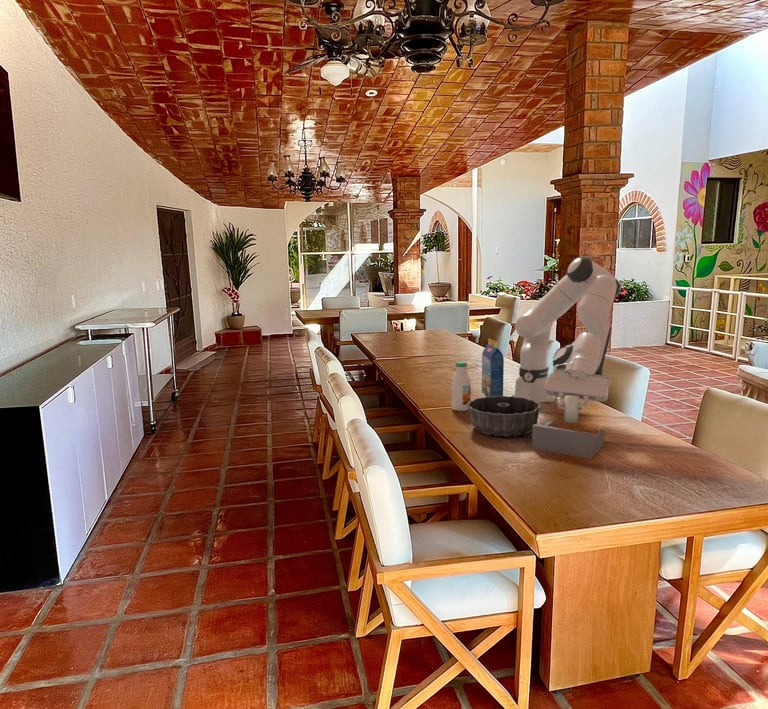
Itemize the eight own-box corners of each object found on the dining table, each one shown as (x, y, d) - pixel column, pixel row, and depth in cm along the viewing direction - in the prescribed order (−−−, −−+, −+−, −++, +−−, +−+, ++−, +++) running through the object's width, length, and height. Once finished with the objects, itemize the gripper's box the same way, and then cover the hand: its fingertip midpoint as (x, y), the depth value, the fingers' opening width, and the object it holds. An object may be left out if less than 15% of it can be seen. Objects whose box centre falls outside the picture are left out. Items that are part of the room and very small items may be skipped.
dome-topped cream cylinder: (566, 418, 189) (567, 393, 188) (579, 420, 187) (580, 395, 185) (562, 421, 186) (563, 396, 184) (575, 423, 183) (577, 398, 182)
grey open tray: (547, 434, 200) (548, 413, 199) (603, 444, 190) (604, 421, 188) (532, 448, 187) (532, 425, 185) (591, 459, 176) (592, 434, 175)
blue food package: (490, 397, 253) (490, 342, 248) (481, 391, 264) (482, 338, 260) (503, 396, 254) (504, 342, 249) (494, 390, 265) (495, 338, 261)
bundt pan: (451, 430, 208) (451, 403, 207) (497, 415, 225) (497, 391, 223) (509, 447, 188) (510, 418, 187) (554, 430, 205) (555, 404, 203)
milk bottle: (456, 412, 231) (456, 364, 227) (449, 407, 238) (449, 361, 234) (473, 410, 233) (473, 363, 229) (465, 405, 240) (466, 359, 236)
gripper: (613, 381, 188) (605, 417, 181) (552, 375, 199) (542, 408, 193) (611, 371, 183) (602, 406, 177) (549, 365, 195) (538, 398, 188)
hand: (571, 407), depth 185 cm, fingers closed on dome-topped cream cylinder, 4 cm apart
